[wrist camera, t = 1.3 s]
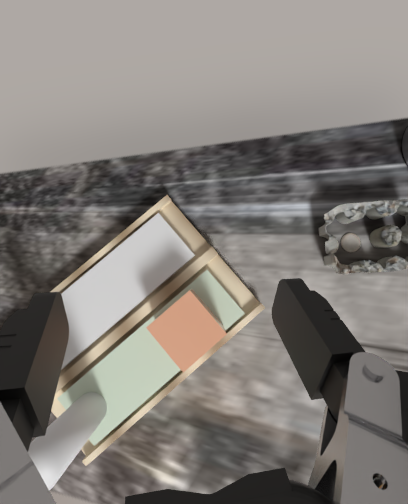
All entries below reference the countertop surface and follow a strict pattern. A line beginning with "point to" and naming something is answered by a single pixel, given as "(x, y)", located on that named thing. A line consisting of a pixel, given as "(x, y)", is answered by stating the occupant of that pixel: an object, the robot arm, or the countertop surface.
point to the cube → (187, 330)
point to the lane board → (153, 313)
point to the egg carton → (378, 237)
